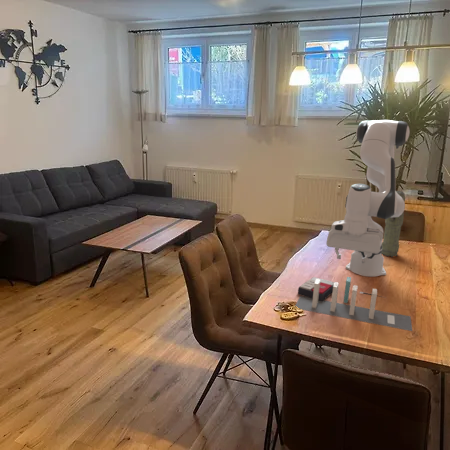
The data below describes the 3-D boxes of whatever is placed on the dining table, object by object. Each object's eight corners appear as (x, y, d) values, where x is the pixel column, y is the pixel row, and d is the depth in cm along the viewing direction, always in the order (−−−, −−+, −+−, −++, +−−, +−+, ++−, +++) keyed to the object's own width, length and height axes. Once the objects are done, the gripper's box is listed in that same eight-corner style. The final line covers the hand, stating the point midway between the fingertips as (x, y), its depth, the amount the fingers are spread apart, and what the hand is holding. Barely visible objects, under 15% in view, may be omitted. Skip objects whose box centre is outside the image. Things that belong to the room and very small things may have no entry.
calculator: (298, 285, 173) (313, 275, 185) (297, 295, 174) (312, 284, 186) (323, 292, 167) (337, 281, 179) (322, 302, 168) (336, 290, 180)
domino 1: (311, 307, 163) (314, 283, 160) (313, 302, 167) (316, 278, 165) (316, 308, 162) (318, 284, 160) (317, 302, 167) (320, 279, 164)
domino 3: (343, 304, 168) (346, 281, 166) (344, 299, 173) (347, 276, 170) (347, 304, 168) (350, 281, 165) (348, 300, 173) (351, 277, 170)
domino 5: (368, 318, 156) (372, 293, 153) (369, 312, 160) (372, 288, 158) (373, 319, 155) (376, 294, 153) (373, 313, 160) (377, 289, 157)
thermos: (398, 252, 235) (408, 191, 226) (396, 258, 225) (406, 194, 216) (381, 249, 239) (390, 189, 230) (379, 255, 229) (388, 192, 220)
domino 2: (330, 310, 160) (333, 286, 158) (331, 305, 165) (334, 281, 162) (334, 311, 160) (337, 287, 157) (335, 306, 164) (338, 282, 162)
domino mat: (299, 297, 173) (299, 295, 172) (410, 318, 159) (410, 316, 159) (294, 309, 162) (294, 307, 162) (412, 333, 148) (412, 330, 148)
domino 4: (349, 314, 158) (352, 290, 156) (350, 309, 163) (353, 285, 160) (353, 315, 158) (356, 290, 155) (354, 309, 162) (357, 285, 160)
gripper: (384, 228, 162) (378, 262, 165) (329, 221, 168) (326, 254, 172) (383, 232, 156) (378, 267, 159) (327, 224, 162) (324, 258, 166)
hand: (351, 260), depth 166 cm, fingers open, 8 cm apart
